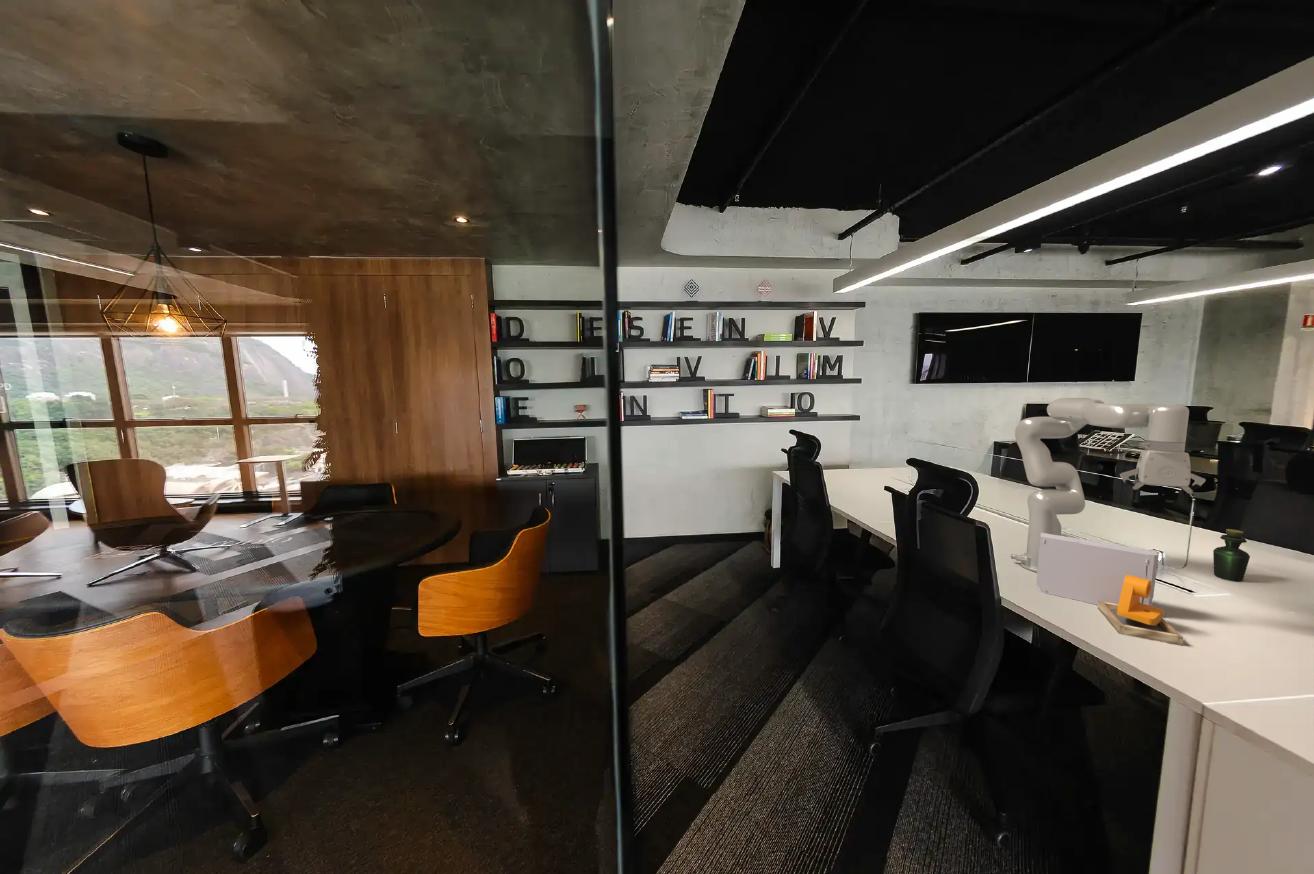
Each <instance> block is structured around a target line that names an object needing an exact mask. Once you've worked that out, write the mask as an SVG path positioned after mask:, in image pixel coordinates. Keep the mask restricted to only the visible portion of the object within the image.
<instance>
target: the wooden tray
mask: <svg viewBox="0 0 1314 874" xmlns="http://www.w3.org/2000/svg"><path fill="white" fill-rule="evenodd" d="M1097 609H1098V610H1099V612H1100V613H1101V614H1102V615H1103V616H1104V618H1105V619H1106V620H1107V621H1108V623H1109V624H1110V625H1111V626H1112V627H1113V628H1114V630H1116V632H1117V633H1118V634H1119V635H1125V636H1130V637H1136V638H1139V639H1140V638H1141V639H1144V640H1145V639H1146V640H1149V641H1150V640H1151V641H1156V642H1162V643H1166V644H1171V645H1176V646H1181V647H1183V642H1184V636H1183V635H1181V634H1180V633H1179V632H1178V631H1177V630H1176V629H1175V628H1174V627H1173V626H1172V625H1171V624H1169V623H1168V622H1167V621H1166V620H1165V619H1164V617H1162V618H1161V621H1160V622H1159V623H1158V624H1157V625H1156V626H1153V625H1148V624H1145V623H1142V622H1139V621H1135V620H1132V619H1129V618H1126V617H1123V616H1120V615H1117V609H1118V604H1114V603H1108V602H1102V601H1098V605H1097Z"/></svg>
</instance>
